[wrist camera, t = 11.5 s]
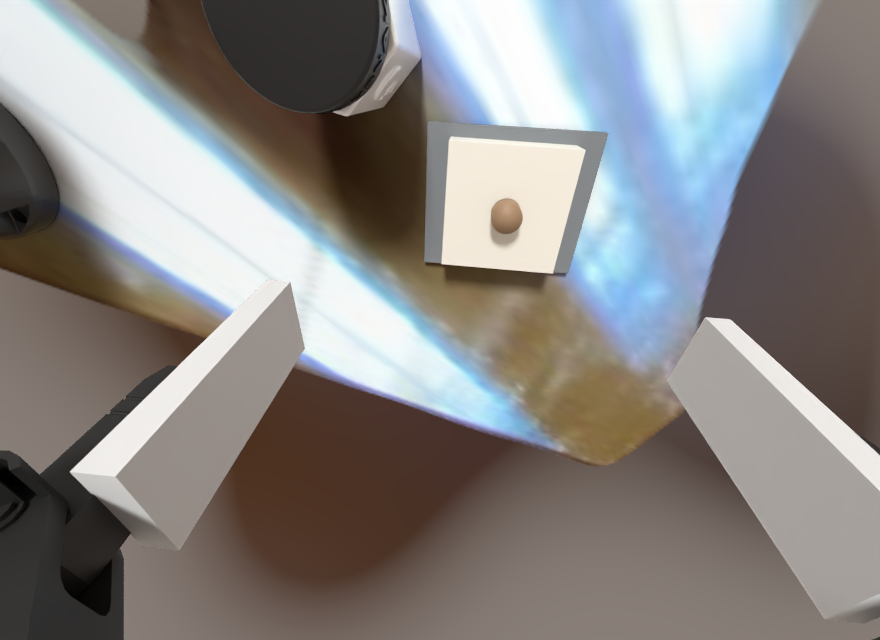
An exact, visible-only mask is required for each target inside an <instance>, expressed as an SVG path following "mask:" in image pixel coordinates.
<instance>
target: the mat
mask: <svg viewBox="0 0 880 640" xmlns="http://www.w3.org/2000/svg"><path fill="white" fill-rule="evenodd" d="M451 136H452V137H466V138H480V139H494V140H508V141H523V142H537V143H551V144H565V145H577V146H579V147H581V148H583V149H584V150H586V151H585V155H584V158H583V162H582V166H581V170H580V173H579V177H578V181H577V185H576V188H575V192H574V196H573V200H572V203H571V207H570V211H569V215H568V218H567V222H566V226H565V230H564V233H563V237H562V241H561V245H560V248H559V252H558V256H557V260H556V263H555V267H554V271H553V272H557V273H568V272H569V268H570V265H571V261H572V258H573V254H574V251H575V248H576V244H577V241H578V237H579V234H580V230H581V227H582V223H583V220H584V216H585V213H586V209H587V206H588V202H589V199H590V195H591V192H592V189H593V185H594V182H595V178H596V175H597V171H598V168H599V164H600V161H601V157H602V154H603V150H604V147H605V143H606V140H607V136H608V133H607V132H594V131H578V130H562V129H546V128H530V127H514V126H498V125H482V124H466V123H450V122H434V121H428V129H427V171H426V214H425V256H424V262H433V263H441V262H442V246H443V229H444V213H445V196H446V180H447V163H448V147H449V139H450V137H451Z"/></svg>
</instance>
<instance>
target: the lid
mask: <svg viewBox="0 0 880 640" xmlns="http://www.w3.org/2000/svg"><path fill="white" fill-rule="evenodd" d="M585 151H586V150H584V149H583V148H581V147H579V146H577V145H565V144H551V143H537V142H523V141H508V140H494V139H480V138H466V137H452V136H451V137H450V139H449V147H448V163H447V180H446V196H445V213H444V229H443V246H442V262H441V264H446V265H458V266H469V267H481V268H493V269H504V270H516V271H528V272H539V273H551V274H553V271H554V267H555V263H556V260H557V256H558V252H559V248H560V245H561V241H562V237H563V233H564V230H565V226H566V222H567V218H568V215H569V211H570V207H571V203H572V200H573V196H574V192H575V188H576V185H577V181H578V177H579V173H580V170H581V166H582V162H583V158H584V155H585Z"/></svg>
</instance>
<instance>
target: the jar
mask: <svg viewBox="0 0 880 640" xmlns="http://www.w3.org/2000/svg"><path fill="white" fill-rule="evenodd" d="M201 2H202V6H203V10H204V13H205V16H206V19H207V22H208V24H209V27H210V29H211V32H212V34H213V36H214V38H215V40H216V42H217V44H218V46H219V47H220V49H221V51H222V53H223V54H224V56H225V57H226V59H227V61H228V62H229V63H230V65H231V66H232V67H233V69H234V70H235V71H236V72H237V74H238V75H239V76H240V77H241V78H242V79H243V80H244V81H245V82H246V83H247V84H248V85H249V86H250V87H251V88H252V89H253V90H254V91H256V92H257V93H258V94H260V95H261V96H262V97H264V98H265V99H267V100H268V101H270V102H272V103H274V104H276V105H278V106H280V107H282V108H285V109H288V110H291V111H295V112H301V113H308V114H311V113H315V114H324V113H330V112H333V113H337V114H340V115H343V116H351V115H355V114H359V113H363V112H367V111H372V110H376V109H380V108H383V107H384V106H385V105H386V103H387V102H388V101H389V100H390V98H391V97H392V96H393V94H394V93H395V92H396V90H397V89H398V88H399V86H400V85H401V84H402V83H403V81H404V80H405V79H406V77H407V76H408V75H409V73H410V72H411V71H412V70H413V68H414V67H415V66H416V64H417V63H418V62H419V60H420V59H421V52H420V48H419V43H418V39H417V35H416V30H415V26H414V22H413V18H412V13H411V9H410V5H409V0H201Z"/></svg>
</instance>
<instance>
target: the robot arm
mask: <svg viewBox="0 0 880 640" xmlns="http://www.w3.org/2000/svg"><path fill="white" fill-rule="evenodd" d="M58 206H59V199H58V191H57V187H56V183H55V180H54V177H53V175H52V172H51V170H50V168H49V166H48V164H47V162H46V160H45V158H44V157H43V155H42V153H41V152H40V150H39V149H38V147H37V146H36V144H35V143H34V141H33V140H32V139H31V137H30V136H29V135H28V133H27V132H26V131H25V130H24V129H23V127H22V126H21V125H20V124H19V123H18V122H17V121H16V119H15V118H14V117H13V116H12V115H11V114H10V113H9V112H8V111H7V110H6V109H5V108H4V107H3V106H2V105H1V104H0V240H7V239H14V238H19V237H22V236H25V235H28V234H31V233H34V232H37V231H40V230H43V229H45V228H47V227H48V226H49V225H50V224H51V223H52V222H53V221H54V219H55V218H56V215H57V212H58ZM304 349H305V348H304V343H303V338H302V334H301V329H300V325H299V320H298V316H297V311H296V306H295V302H294V297H293V293H292V288H291V283H290V282H284V281H273V280H266V281H265V282H264V283H263V284H262V285H261V286H260V287H259V288H258V289H257V290H256V291H255V292H254V293H253V294H252V295H251V296H250V297H249V298H248V299H247V300H246V301H245V302H244V303H243V304H242V305H241V306H240V307H239V308H237V309H236V310H235V311H234V312H233V313H232V314H231V315H230V316H229V317H228V318H227V319H226V320H225V321H224V322H223V323H222V324H221V325H220V326H219V327H218V328H217V329H216V330H215V331H214V332H213V333H212V334H211V335H210V336H209V337H208V338H207V339H206V340H205V341H204V342H203V343H202V344H201V345H199V346H198V347H197V348H196V349H195V350H194V351H193V352H192V353H191V354H190V355H189V356H188V357H187V358H186V359H185V360H184V361H183V362H182V363H181V364H180V365H179V366H167V367H165V368H163V369H162V370H160V371H158V372H156V373H154V374H153V375H151V376H149V377H148V378H146V379H144V380H143V381H142V382H141V383H140V384H139V385H138V386H137V387H136V388H135V389H133V390H132V391H131V392H130V393H129V394H128V395H127V396H126V399H125V400H121V401H120V402H119V403H118V404H117V405H116V406H115V407H114V408H113V409H112V410H111V412H110V414H106V415H105V416H104V417H103V418H102V419H101V420H99V421H98V422H97V423H96V424H95V425H94V426H93V427H92V428H91V429H90V430H89V431H87V432H86V433H85V434H84V435H83V436H82V437H81V438H80V439H79V440H78V441H76V442H75V443H74V444H73V445H72V446H71V447H70V448H69V449H68V450H66V452H64V453H63V454H62V455H61V456H60V457H59V458H58V459H57V460H56V461H54V462H53V463H52V464H51V465H50V466H49V467H48V468H47V469H46V470H45V471H43V472H42V473H41V474H40V475H39V474H38V473H37V472H36V471H35V470H34V469H32V468H31V467H30V466H29V465H28V464H27V463H26V462H25V461H24V460H23V459H22V458H21V457H19V456H18V455H16V454H14V453H12V452H10V451H0V640H123V639H124V637H123V635H124V631H123V629H124V626H123V625H124V620H123V619H124V602H123V601H124V599H123V598H124V559H123V555H122V552H121V550H120V549H119V548H120V547H121V546H122V544H123V543H124V542H125V540H126V539H127V537H128V536H129V535H130V534H131V535H132V536H133V537H134V538H135V539H136V540H137V541H138V542H139V543H140V544H141V545H142V546H143V547H150V548H160V549H169V550H178V551H179V550H180V548H181V547H182V545H183V543H184V542H185V540H186V539H187V537H188V535H189V534H190V532H191V530H192V529H193V527H194V526H195V524H196V522H197V521H198V519H199V518H200V516H201V514H202V513H203V511H204V510H205V508H206V506H207V505H208V503H209V502H210V500H211V498H212V497H213V495H214V493H215V492H216V490H217V489H218V487H219V485H220V484H221V482H222V481H223V479H224V477H225V476H226V474H227V473H228V471H229V469H230V468H231V466H232V464H233V463H234V461H235V460H236V458H237V456H238V455H239V453H240V451H241V450H242V448H243V447H244V445H245V443H246V442H247V440H248V439H249V437H250V436H251V434H252V432H253V431H254V429H255V427H256V426H257V424H258V423H259V421H260V419H261V418H262V416H263V414H264V413H265V411H266V410H267V408H268V407H269V405H270V403H271V402H272V400H273V398H274V397H275V395H276V393H277V392H278V390H279V389H280V387H281V386H282V384H283V382H284V381H285V379H286V378H287V376H288V374H289V373H290V371H291V369H292V368H293V366H294V365H295V363H296V361H297V360H298V358H299V357H300V355H301V353H302V352H303V350H304ZM667 382H668V384H669V385H670V387H671V388H672V390H673V391H674V393H675V394H676V396H677V397H678V399H679V400H680V402H681V403H682V405H683V406H684V408H685V409H686V411H687V412H688V414H689V415H690V417H691V418H692V420H693V421H694V423H695V424H696V426H697V427H698V429H699V430H700V432H701V433H702V435H703V436H704V438H705V439H706V441H707V442H708V444H709V445H710V447H711V448H712V450H713V451H714V453H715V454H716V456H717V457H718V459H719V460H720V462H721V463H722V465H723V467H724V468H725V470H726V471H727V473H728V474H729V476H730V477H731V479H732V480H733V482H734V483H735V485H736V486H737V488H738V489H739V491H740V492H741V494H742V495H743V497H744V498H745V500H746V501H747V503H748V504H749V506H750V507H751V509H752V510H753V512H754V513H755V515H756V516H757V518H758V519H759V521H760V522H761V524H762V525H763V527H764V528H765V530H766V531H767V533H768V534H769V536H770V537H771V539H772V540H773V542H774V543H775V545H776V547H777V548H778V550H779V551H780V552H781V554H782V555H783V557H784V559H785V560H786V562H787V563H788V565H789V566H790V568H791V569H792V571H793V572H794V574H795V575H796V577H797V578H798V580H799V581H800V583H801V584H802V586H803V587H804V589H805V590H806V592H807V593H808V595H809V596H810V598H811V599H812V601H813V602H814V604H815V605H816V607H817V608H818V610H819V611H820V613H821V614H822V616H823V618H824V619H829V620H837V621H847V622H856V623H866V622H868V621H871V620H873V619H876V618H878V617H880V449H879V448H878V447H877V446H876V445H874V444H873V443H871V442H870V441H868V440H867V439H865V438H863V437H862V436H860V435H859V434H857V433H856V432H854V431H853V430H851V429H850V428H849V427H848V426H847V425H846V424H845V423H844V422H843V421H842V420H840V419H839V418H838V417H837V416H836V415H835V414H834V413H833V412H831V411H830V410H829V409H828V408H827V407H826V406H825V405H824V404H823V403H822V402H820V401H819V400H818V399H817V398H816V397H815V396H814V395H813V394H812V393H811V392H809V391H808V390H807V389H806V388H805V387H804V386H803V385H802V384H801V383H800V382H798V381H797V380H796V379H795V378H794V377H793V376H792V375H791V374H790V373H788V372H787V371H786V370H785V369H784V368H783V367H782V366H781V365H780V364H779V363H778V362H776V361H775V360H774V359H773V358H772V357H771V356H770V355H769V354H767V352H765V351H764V350H763V349H762V348H761V347H760V346H759V345H758V344H757V343H756V342H754V341H753V340H752V339H751V338H750V337H749V336H748V335H747V334H746V333H744V332H743V331H742V330H741V329H740V328H739V327H738V326H737V325H736V324H735V323H733V322H732V321H731V320H729V319H718V318H705V319H704V320H703V322H702V324H701V325H700V327H699V329H698V330H697V332H696V333H695V335H694V337H693V338H692V340H691V342H690V343H689V345H688V347H687V348H686V350H685V352H684V353H683V355H682V357H681V358H680V360H679V362H678V363H677V365H676V367H675V368H674V370H673V372H672V373H671V375H670V376H669V378H668V380H667ZM873 640H880V637H878V638H876V639H873Z"/></svg>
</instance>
